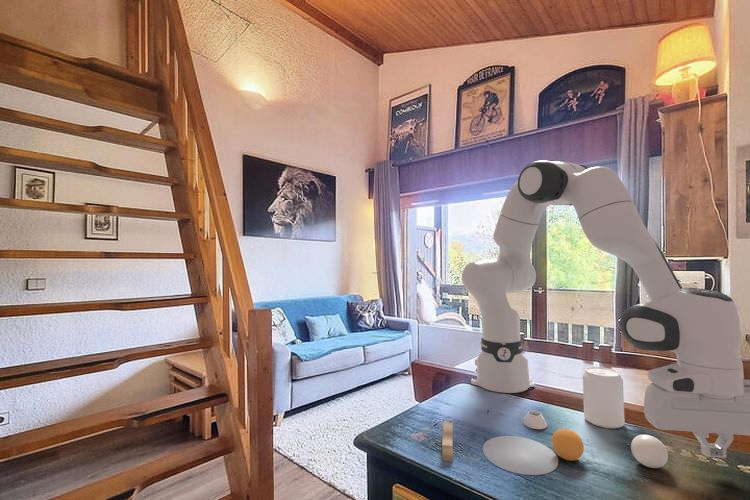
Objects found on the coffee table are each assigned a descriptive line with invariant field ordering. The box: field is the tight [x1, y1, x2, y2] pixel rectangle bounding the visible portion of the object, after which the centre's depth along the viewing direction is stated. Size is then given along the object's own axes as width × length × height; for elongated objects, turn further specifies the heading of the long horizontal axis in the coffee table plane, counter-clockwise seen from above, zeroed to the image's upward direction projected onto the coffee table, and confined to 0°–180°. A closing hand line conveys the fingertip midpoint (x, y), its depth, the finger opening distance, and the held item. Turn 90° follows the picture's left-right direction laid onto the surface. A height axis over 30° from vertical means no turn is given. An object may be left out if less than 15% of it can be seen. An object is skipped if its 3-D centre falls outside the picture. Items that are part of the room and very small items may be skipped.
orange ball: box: [551, 428, 585, 461], centre depth 70 cm, size 6×6×6 cm
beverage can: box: [582, 366, 625, 429], centre depth 85 cm, size 8×8×12 cm
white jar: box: [523, 410, 548, 430], centre depth 84 cm, size 5×3×5 cm
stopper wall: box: [441, 421, 454, 463], centre depth 75 cm, size 10×2×3 cm, turn 168°
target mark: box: [482, 435, 559, 476], centre depth 72 cm, size 14×14×1 cm
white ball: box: [630, 434, 669, 469], centre depth 67 cm, size 6×6×6 cm
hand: (713, 455), depth 65 cm, fingers closed
